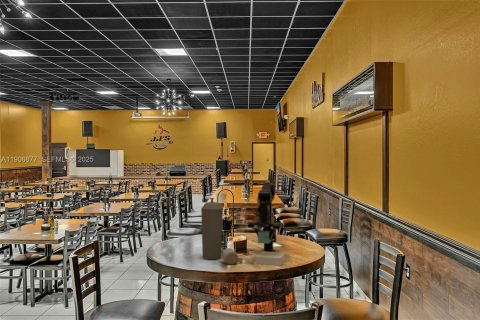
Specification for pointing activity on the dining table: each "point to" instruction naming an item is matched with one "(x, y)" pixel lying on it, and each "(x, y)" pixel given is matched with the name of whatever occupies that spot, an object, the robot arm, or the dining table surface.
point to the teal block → (264, 237)
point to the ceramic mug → (230, 256)
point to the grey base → (270, 258)
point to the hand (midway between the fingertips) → (264, 240)
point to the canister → (211, 230)
